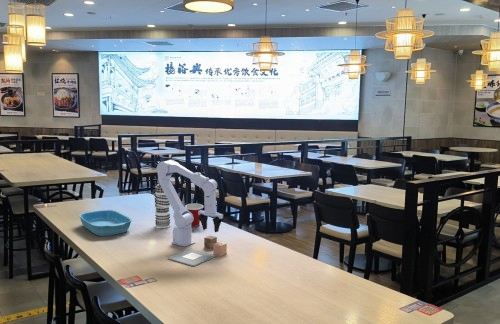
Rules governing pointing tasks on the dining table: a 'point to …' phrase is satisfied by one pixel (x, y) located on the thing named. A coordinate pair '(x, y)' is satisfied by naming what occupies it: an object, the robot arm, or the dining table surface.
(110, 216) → the casserole dish
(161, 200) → the white striped cylinder
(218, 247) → the terracotta block
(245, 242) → the dining table surface
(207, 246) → the walnut block
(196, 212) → the plastic cup
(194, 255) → the board
